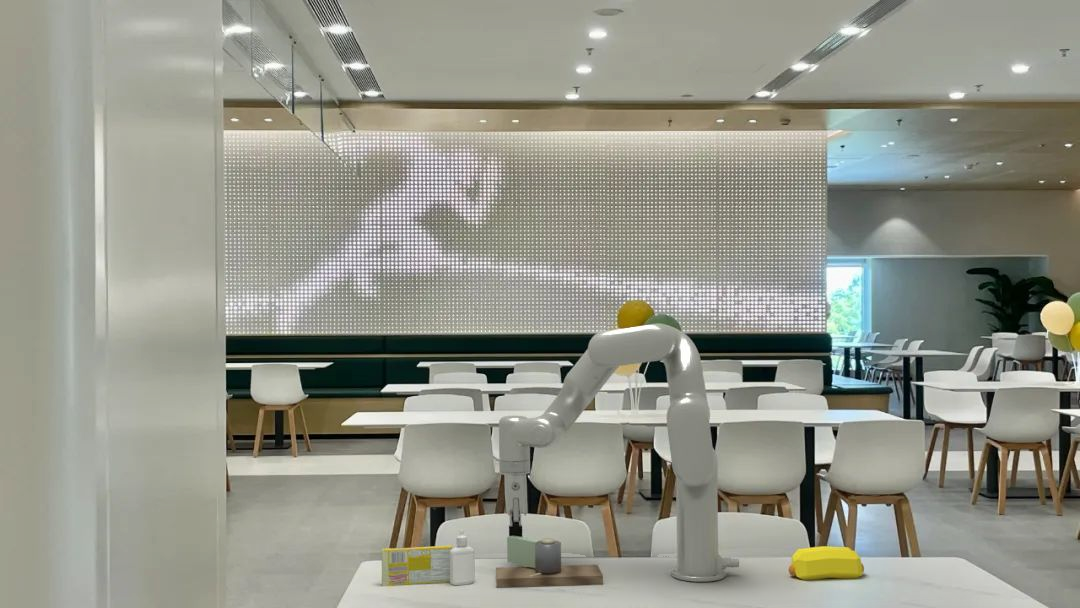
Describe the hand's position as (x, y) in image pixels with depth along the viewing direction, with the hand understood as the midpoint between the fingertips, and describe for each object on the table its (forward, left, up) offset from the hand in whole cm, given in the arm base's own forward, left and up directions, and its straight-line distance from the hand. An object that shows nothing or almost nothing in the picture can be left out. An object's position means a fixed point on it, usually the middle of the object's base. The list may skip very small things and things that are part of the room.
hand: (515, 542), depth 232 cm
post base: (-7, +12, -6) cm, 15 cm away
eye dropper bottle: (+13, +13, -6) cm, 19 cm away
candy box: (+23, +11, -6) cm, 27 cm away
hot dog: (-71, +16, -6) cm, 73 cm away
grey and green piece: (-4, +9, -4) cm, 11 cm away
